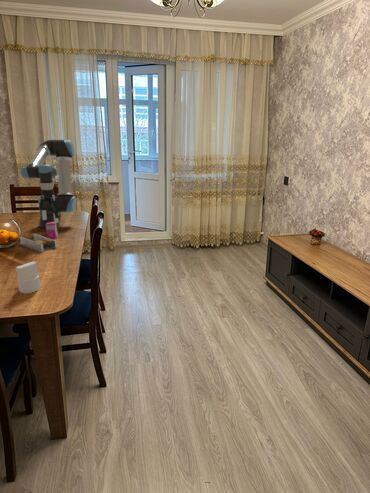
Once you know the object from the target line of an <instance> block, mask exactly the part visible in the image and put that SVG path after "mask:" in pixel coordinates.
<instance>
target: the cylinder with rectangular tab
mask: <svg viewBox="0 0 370 493" xmlns="http://www.w3.org/2000/svg"><path fill="white" fill-rule="evenodd" d="M38 269H39V267H38V263H37V261H30V262H28V263H27V262H26V263H24V264H22V265H17V266H15V271H16V276H17V283H18V284H17V285H18V290H19V292H20V293H21V294H32V292H33V293H36V292H37V291H39V290H40V289H41V281H40V275H39V270H38ZM35 291H36V292H35Z"/></svg>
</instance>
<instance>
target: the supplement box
mask: <svg viewBox="0 0 370 493" xmlns="http://www.w3.org/2000/svg"><path fill="white" fill-rule="evenodd" d="M45 226H46V228H45V231H46V237H47V238H50V239H57V237H59V235H58V228H57V227H58V226H57V225H56V223H54V222H47V223H46V224H45Z"/></svg>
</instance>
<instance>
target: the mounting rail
mask: <svg viewBox="0 0 370 493" xmlns="http://www.w3.org/2000/svg"><path fill="white" fill-rule="evenodd" d="M37 240H43V241H46V242H47V243H46V244H41V243H38V242H35V241H37ZM19 241H20V242H19V245H20V246H23V247H26V248H28V249H31V250H33V251H36V252H39V253H43V252H47V251H51V250H54V249H58V248H59V246H58V242H57V240H56V239H54V238H47V236H43V235H41V234H38V233H33V239H29V238H26V237H23V236H19Z"/></svg>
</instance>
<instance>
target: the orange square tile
mask: <svg viewBox="0 0 370 493" xmlns="http://www.w3.org/2000/svg"><path fill="white" fill-rule="evenodd" d="M35 242H38V243H41V244H46V243H47V242H46V241H43V240H37V241H35Z"/></svg>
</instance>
